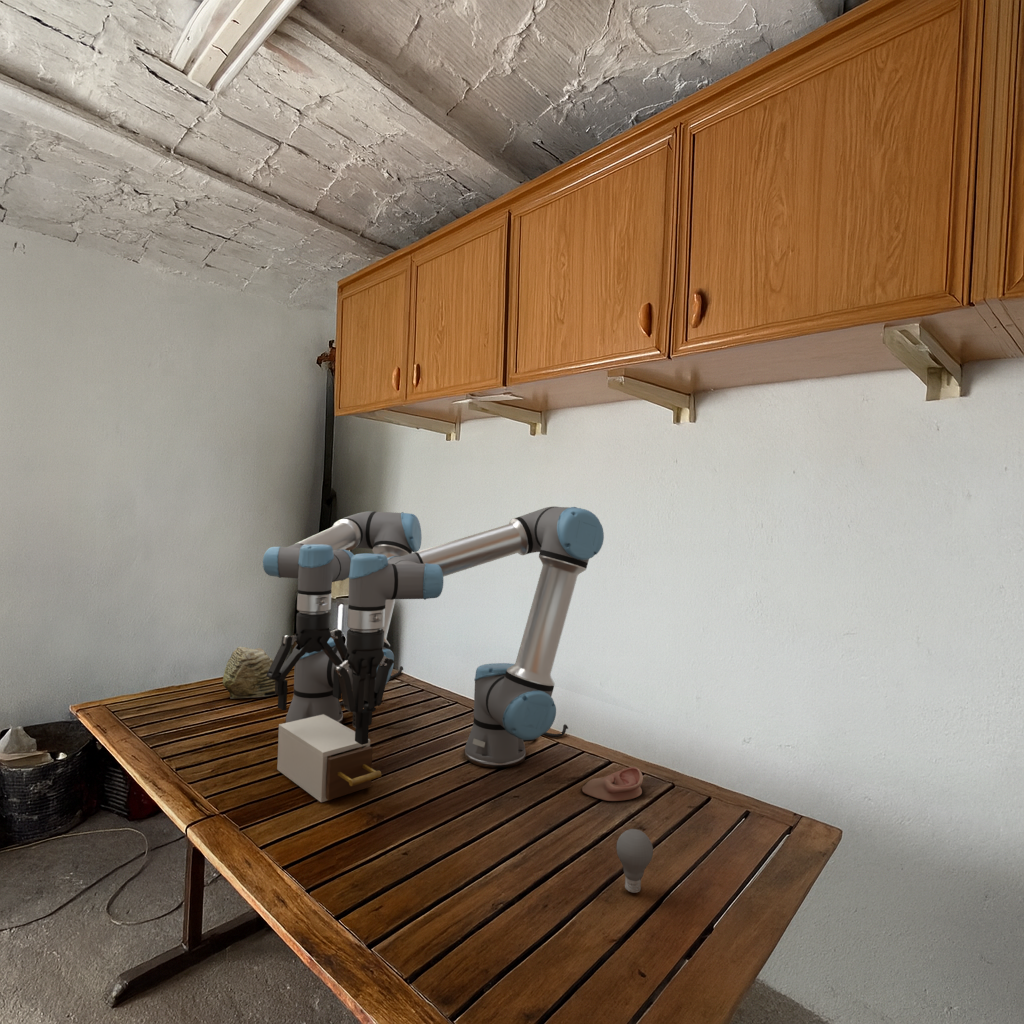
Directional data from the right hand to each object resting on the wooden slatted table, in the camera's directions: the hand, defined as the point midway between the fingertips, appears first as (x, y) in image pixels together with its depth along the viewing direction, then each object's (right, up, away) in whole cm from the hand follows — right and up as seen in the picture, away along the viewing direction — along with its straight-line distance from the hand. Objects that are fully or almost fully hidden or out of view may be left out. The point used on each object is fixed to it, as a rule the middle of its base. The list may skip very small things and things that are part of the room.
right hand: (361, 741), depth 131 cm
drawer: (-8, -12, +7) cm, 16 cm away
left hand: (-16, +3, +15) cm, 22 cm away
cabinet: (-12, -12, +11) cm, 20 cm away
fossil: (-49, -10, +67) cm, 84 cm away
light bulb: (+51, -16, -26) cm, 59 cm away
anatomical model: (+54, -15, +11) cm, 57 cm away
